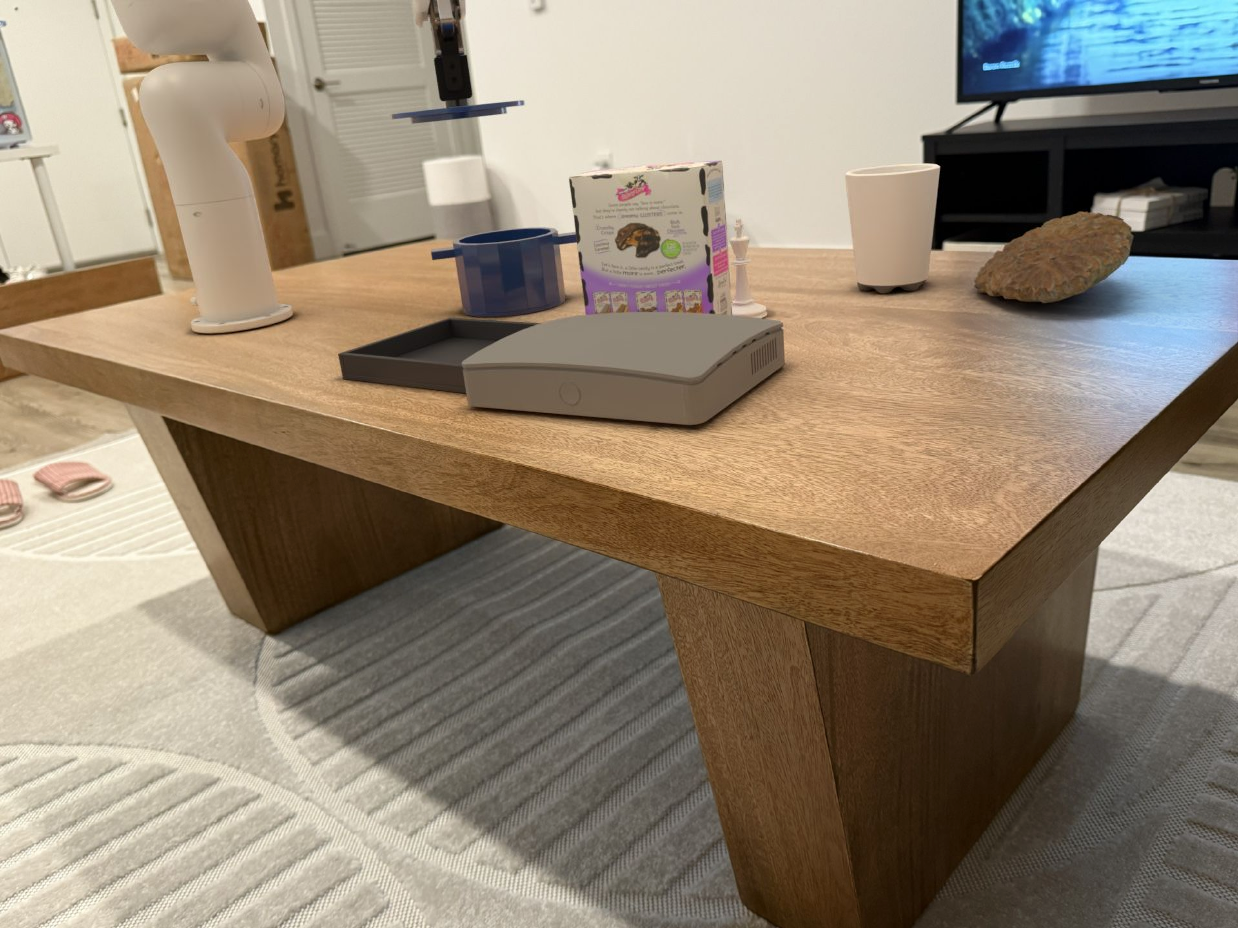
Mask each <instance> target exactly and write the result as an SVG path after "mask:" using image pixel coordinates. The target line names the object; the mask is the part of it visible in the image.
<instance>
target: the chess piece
mask: <svg viewBox="0 0 1238 928" xmlns="http://www.w3.org/2000/svg"><path fill="white" fill-rule="evenodd" d="M743 229H744V224H743V223H742V218H736V219H735V226H734V232H736V235H735V236H733V237H731V238H730V239H729V243H730V246H731V249H732V251H733V254H734V256H735V258H734V259H732V260H731V261H730V266H734V267H735V266H736V268H735V269H736V272H735V279H736V280H735V291H734V299H731V306H732V315H733V316H744V317H754V318H762V319H764V318H766V317H767V316H768V312H767V307H766V305H763V304H761V303H757V302H754V301H755V299H754V298H753V297H752V295H751V291H750V285H749V280H748V273H747V267H746V265H750V264H752V260H751V259H750V258H747V257H746V256H747V252H748V247H749V244H750V241H751V240H750V239H751V238H750V237H749V236H746V235H743ZM732 303H733V304H732Z"/></svg>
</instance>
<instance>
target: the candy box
mask: <svg viewBox="0 0 1238 928" xmlns="http://www.w3.org/2000/svg"><path fill="white" fill-rule="evenodd" d="M723 168H724V167H723V160H706V161H705V160H704V161H692V162H691V161H690V162H674V163H673V162H672V163H662V164H661V163H659V164H647V165H636V166H626V167H616V168H615V167H614V168H605V169H604V168H603V169H595V170H590V171H587V172H581V173H579V174H578V173H577V174H575V175H570V176H569V177H568V183H569V189H570V198H571V205H572V214H573V220H574V221H573V222H574V232H576V239H577V243H576V249H577V255H578V264H579V273H580V280H581V288H582V296H583V304H584V313H585V314H584V315H590V314H601V313H623V312H686V313H705V314H721V315H732V306H731V305H732V292H731V291H732V289H731V276H730V274H731V273H730V257H729V245H728V244H729V243H728V230H727V229H728V228H727V214H726V201H725V200H726V199H725V184H724V169H723Z"/></svg>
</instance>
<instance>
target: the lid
mask: <svg viewBox="0 0 1238 928" xmlns="http://www.w3.org/2000/svg"><path fill="white" fill-rule="evenodd" d="M438 58H439V57H438ZM469 99H470V98H468V99H459V100H449V101H444V104H445V107H442V108H434V109H433V108H432V109H424V110H423V109H422V110H414V111H406V112H405V111H404V112H397V113H391V114H390V120H401V119H409V121H410V124H411V125H414V124H424V123H432V122H433V123H434V122H442V121H451V120H461V119H462V120H463V119H470V118H471V119H472V118H480V117H488V116H490V117H491V116H498V115H499V116H500V115H507V114H508V108H514V107H523V106H526V101H525V99H522V100H520V99H519V100H510V101H500V102H491V103H481V104H480V103H479V104H471V105H470V100H469Z"/></svg>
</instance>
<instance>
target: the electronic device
mask: <svg viewBox="0 0 1238 928" xmlns="http://www.w3.org/2000/svg"><path fill="white" fill-rule="evenodd" d="M540 323H541V324H537V325H535V326H532V327H529V328H526V329H523V330H521V331H518V332H516V333H514V334H512V335H509V336H507V337H505V338H503V339H500V340H499V341H497V342H495V343H493V344H491V345H489V346H487V347H485V348H484V349H482V350H480V351H478V352H476V353H475V354H473V355H472V356H470V357H468V358H467V359H465V360H464V361H463V362H462V367H463V368H464V369H463V375H464V381H465V388H466V393H465V394H466V400H467V404H468V406H470V407H475V408H488V409H499V410H500V409H501V410H511V411H521V412H522V411H523V412H533V413H534V412H535V413H545V414H546V413H547V414H556V415H557V414H558V415H568V416H581V417H592V418H593V417H594V418H603V419H605V418H606V419H613V420H626V421H627V420H628V421H639V422H651V423H660V424H661V423H662V424H674V425H683V426H684V425H686V426H693V425H699V424H703V423H706V422H707V421H709V420H710V419H712V418H713V417H715V416H716V415H717V414H718V413H720V412H721V411H722V410H724V409H725V408H727V407H728V406H730V405H731V404H732V403H733V402H735V401H736V400H738V399H739V398H740V397H742V396H743V395H745V394H746V393H747V392H749V391H750V390H752V389H753V388H754V387H756V386H757V385H758V384H760V383H761V382H762V381H764V380H766V379H767V378H768V377H769V376H771V375H772V374H773V373H775V372H776V371H778V370H780V369H781V368H782V367H783V366H784V365H785V364H786V359H785V357H786V356H785V333H784V329H783V327H784V322H783V321H781V320H776V319H769V318H754V317H744V316H733V315H721V314H705V313H686V312H623V313H601V314H590V315H586V314H581V315H580V314H579V315H572V316H566V317H561V318H556V319H552V320H549V321H545V322H540Z"/></svg>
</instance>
